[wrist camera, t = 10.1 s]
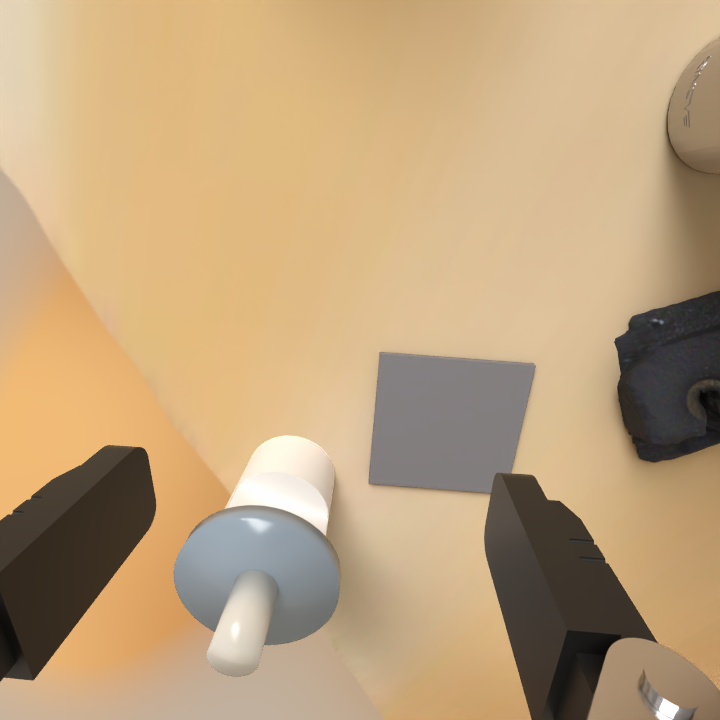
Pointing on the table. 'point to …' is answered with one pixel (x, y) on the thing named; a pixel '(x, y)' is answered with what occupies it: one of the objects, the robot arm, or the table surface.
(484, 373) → the mat
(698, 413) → the dark slate chunk
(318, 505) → the white cylinder
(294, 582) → the lid
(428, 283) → the table surface
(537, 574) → the robot arm
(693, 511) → the table surface
